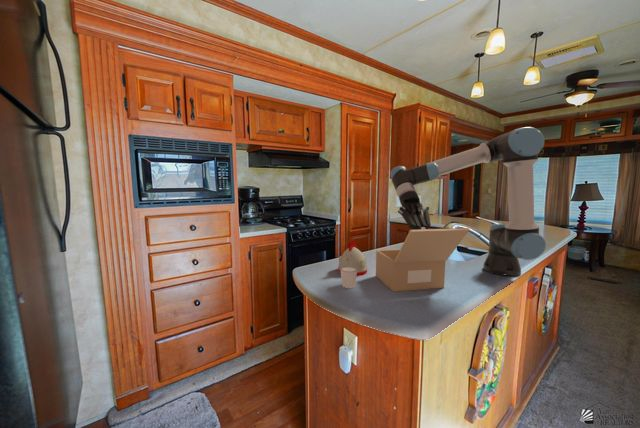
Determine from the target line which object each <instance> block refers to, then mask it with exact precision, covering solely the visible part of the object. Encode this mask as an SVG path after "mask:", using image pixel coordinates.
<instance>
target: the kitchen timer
mask: <svg viewBox="0 0 640 428" xmlns="http://www.w3.org/2000/svg"><path fill="white" fill-rule="evenodd" d="M347 247H348V248H346V249H345V251H343V253H342V255H340V256H339V258H338V265H337V271H339V272H340V274H341V268H344V267H352V268H356V269H357V277H361V276H364V275H366V274H368V266H367V258H365V255H364V254H363V253H362V251H361V250H360V249H358V248H357V247H358V244H357V242H356V241H355V240H352V241H350V242H349V245H347ZM339 272H338V273H339Z"/></svg>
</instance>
